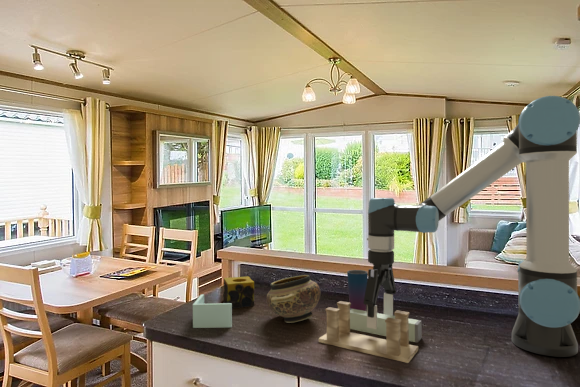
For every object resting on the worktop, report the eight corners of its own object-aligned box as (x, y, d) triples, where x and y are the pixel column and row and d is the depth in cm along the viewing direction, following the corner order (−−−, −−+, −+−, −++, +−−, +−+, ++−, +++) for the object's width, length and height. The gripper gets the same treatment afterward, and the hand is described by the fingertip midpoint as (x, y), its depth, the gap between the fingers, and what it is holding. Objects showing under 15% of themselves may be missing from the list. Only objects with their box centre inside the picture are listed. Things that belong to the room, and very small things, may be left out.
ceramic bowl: (303, 338, 110) (302, 286, 110) (250, 329, 118) (250, 280, 118) (332, 313, 132) (331, 270, 132) (286, 307, 140) (285, 266, 140)
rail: (421, 338, 109) (421, 320, 109) (417, 342, 106) (417, 324, 106) (350, 324, 122) (350, 308, 122) (345, 327, 118) (345, 311, 118)
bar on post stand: (418, 350, 101) (418, 313, 101) (408, 363, 94) (407, 323, 93) (333, 331, 115) (333, 299, 115) (318, 342, 107) (318, 307, 107)
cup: (368, 320, 125) (367, 274, 125) (347, 319, 126) (346, 273, 126) (368, 313, 131) (367, 270, 131) (348, 312, 133) (347, 269, 133)
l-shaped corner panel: (231, 328, 119) (231, 304, 119) (193, 328, 119) (192, 304, 119) (236, 315, 131) (236, 293, 131) (201, 316, 131) (201, 294, 131)
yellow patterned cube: (222, 304, 145) (222, 277, 145) (249, 301, 148) (249, 275, 148) (226, 312, 135) (226, 283, 135) (254, 309, 138) (254, 281, 138)
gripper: (383, 243, 126) (382, 307, 126) (351, 254, 105) (351, 331, 106) (406, 245, 122) (405, 312, 122) (377, 257, 101) (377, 337, 102)
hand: (380, 321), depth 114 cm, fingers open, 13 cm apart
